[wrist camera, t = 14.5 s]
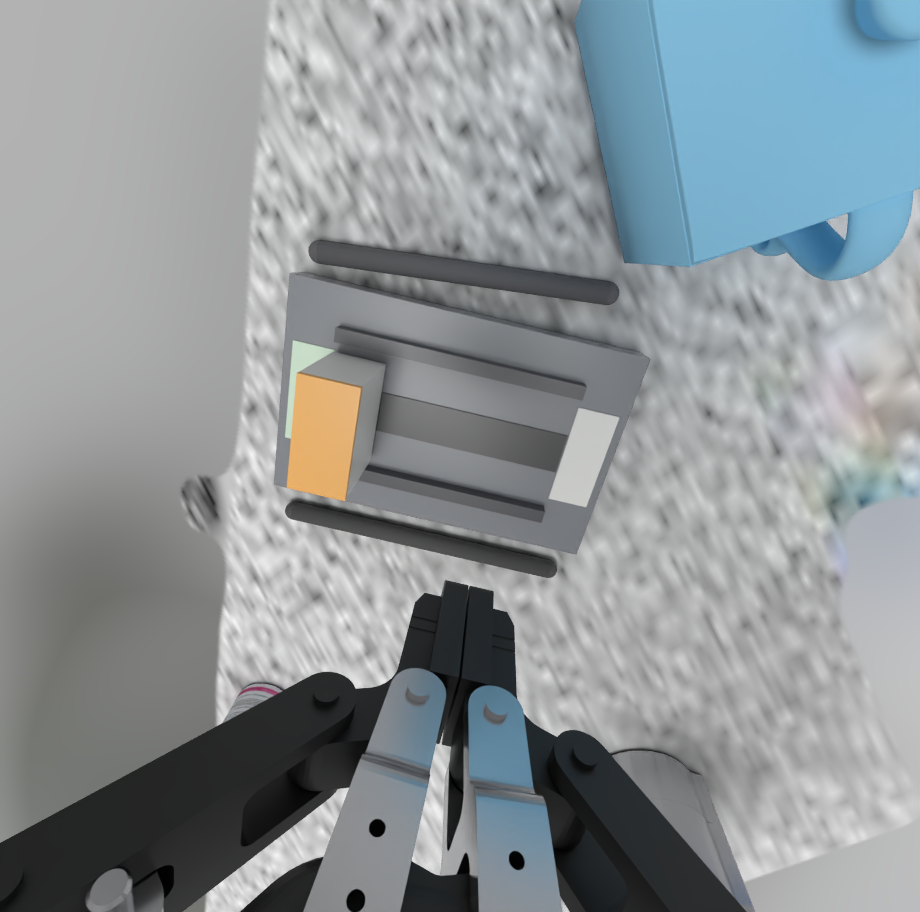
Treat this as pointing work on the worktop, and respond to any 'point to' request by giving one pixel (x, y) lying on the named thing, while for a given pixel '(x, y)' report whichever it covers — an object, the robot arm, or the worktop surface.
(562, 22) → the worktop surface
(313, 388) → the grey orange rectangular block
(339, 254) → the cord
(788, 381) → the worktop surface
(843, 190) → the teapot
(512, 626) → the robot arm
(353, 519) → the dark grey rod
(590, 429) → the panel
